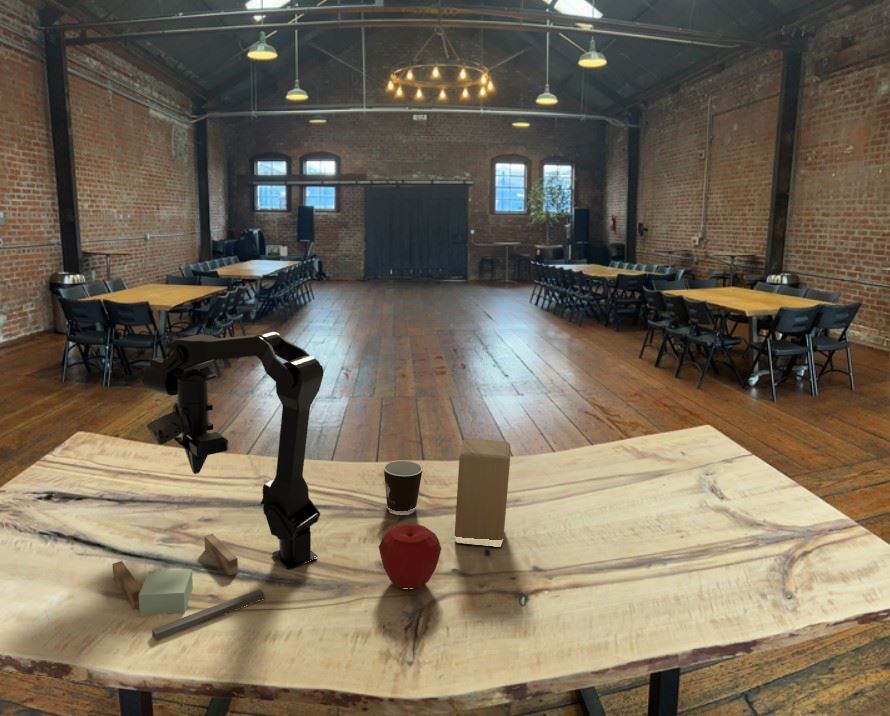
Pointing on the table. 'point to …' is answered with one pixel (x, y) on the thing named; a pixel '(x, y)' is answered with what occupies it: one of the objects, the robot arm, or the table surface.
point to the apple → (409, 554)
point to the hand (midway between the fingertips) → (196, 473)
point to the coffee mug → (402, 484)
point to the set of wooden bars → (231, 567)
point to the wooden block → (482, 489)
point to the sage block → (166, 592)
